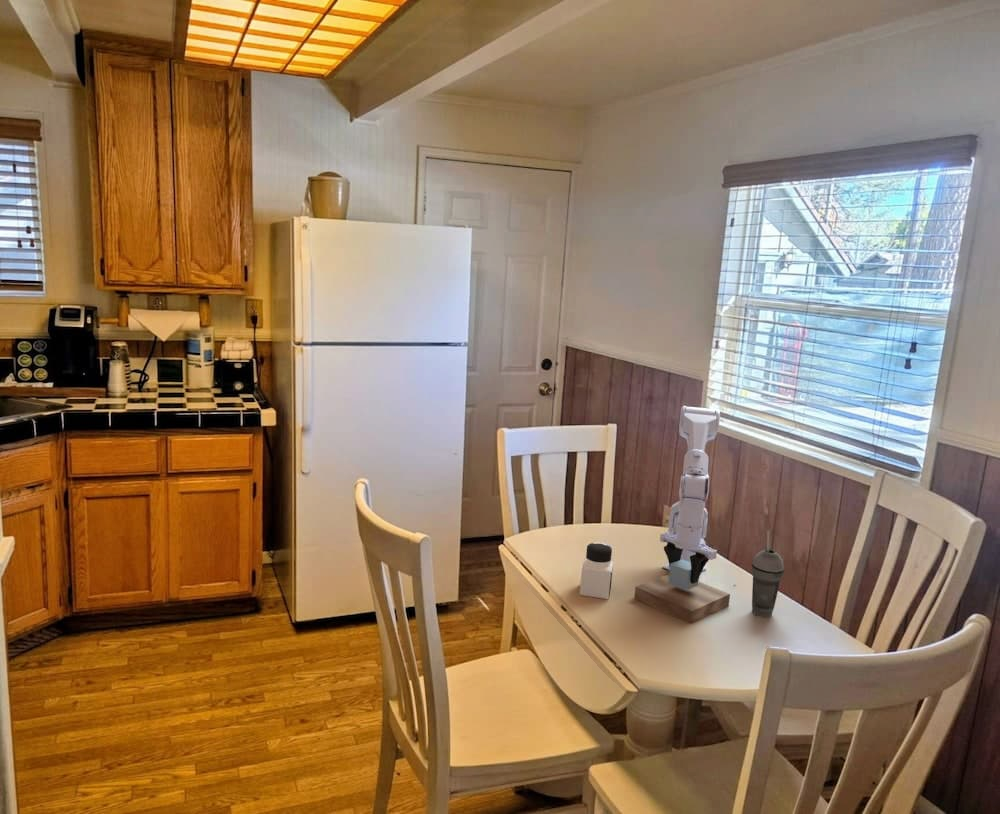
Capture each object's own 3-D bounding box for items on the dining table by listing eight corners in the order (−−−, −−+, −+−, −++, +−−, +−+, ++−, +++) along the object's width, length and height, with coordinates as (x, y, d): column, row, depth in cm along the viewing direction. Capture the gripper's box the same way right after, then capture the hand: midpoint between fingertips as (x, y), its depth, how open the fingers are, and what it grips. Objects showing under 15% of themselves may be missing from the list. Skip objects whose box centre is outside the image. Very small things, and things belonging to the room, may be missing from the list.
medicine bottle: (609, 599, 182) (613, 552, 180) (579, 595, 183) (583, 548, 181) (610, 588, 189) (615, 542, 187) (582, 584, 190) (586, 538, 188)
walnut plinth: (673, 582, 194) (674, 571, 194) (728, 605, 183) (730, 593, 182) (634, 598, 184) (635, 586, 183) (690, 623, 172) (692, 610, 171)
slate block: (680, 578, 186) (682, 559, 185) (697, 585, 182) (700, 566, 181) (668, 583, 182) (670, 563, 181) (685, 590, 179) (688, 570, 178)
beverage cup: (762, 622, 175) (773, 539, 171) (739, 609, 181) (749, 529, 178) (784, 617, 178) (796, 536, 175) (761, 604, 184) (771, 526, 181)
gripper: (654, 518, 182) (649, 572, 185) (707, 536, 172) (700, 592, 174) (672, 513, 187) (666, 565, 189) (724, 530, 176) (717, 585, 179)
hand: (684, 578), depth 182 cm, fingers closed on slate block, 5 cm apart
